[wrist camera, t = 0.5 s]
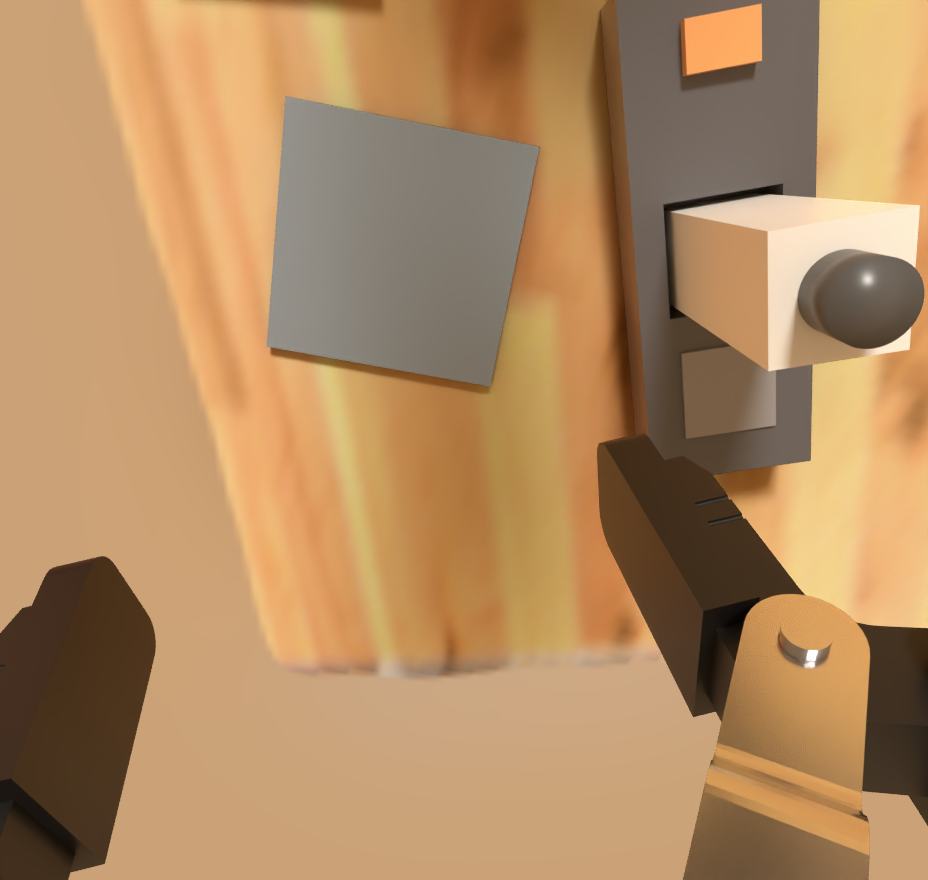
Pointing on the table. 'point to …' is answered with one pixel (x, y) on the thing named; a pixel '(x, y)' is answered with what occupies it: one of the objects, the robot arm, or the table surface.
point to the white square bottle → (796, 275)
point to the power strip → (702, 179)
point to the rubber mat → (395, 241)
